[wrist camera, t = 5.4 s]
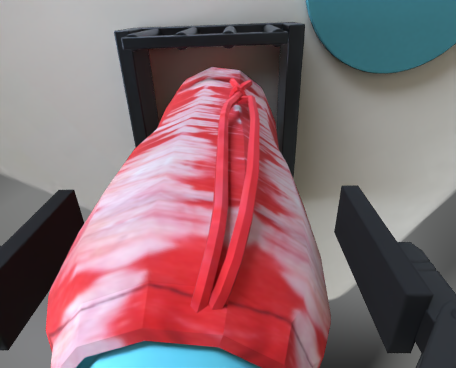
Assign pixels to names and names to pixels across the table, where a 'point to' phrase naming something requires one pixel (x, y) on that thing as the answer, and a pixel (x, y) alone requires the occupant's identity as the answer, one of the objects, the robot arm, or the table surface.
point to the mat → (384, 31)
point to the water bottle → (196, 248)
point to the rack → (208, 37)
